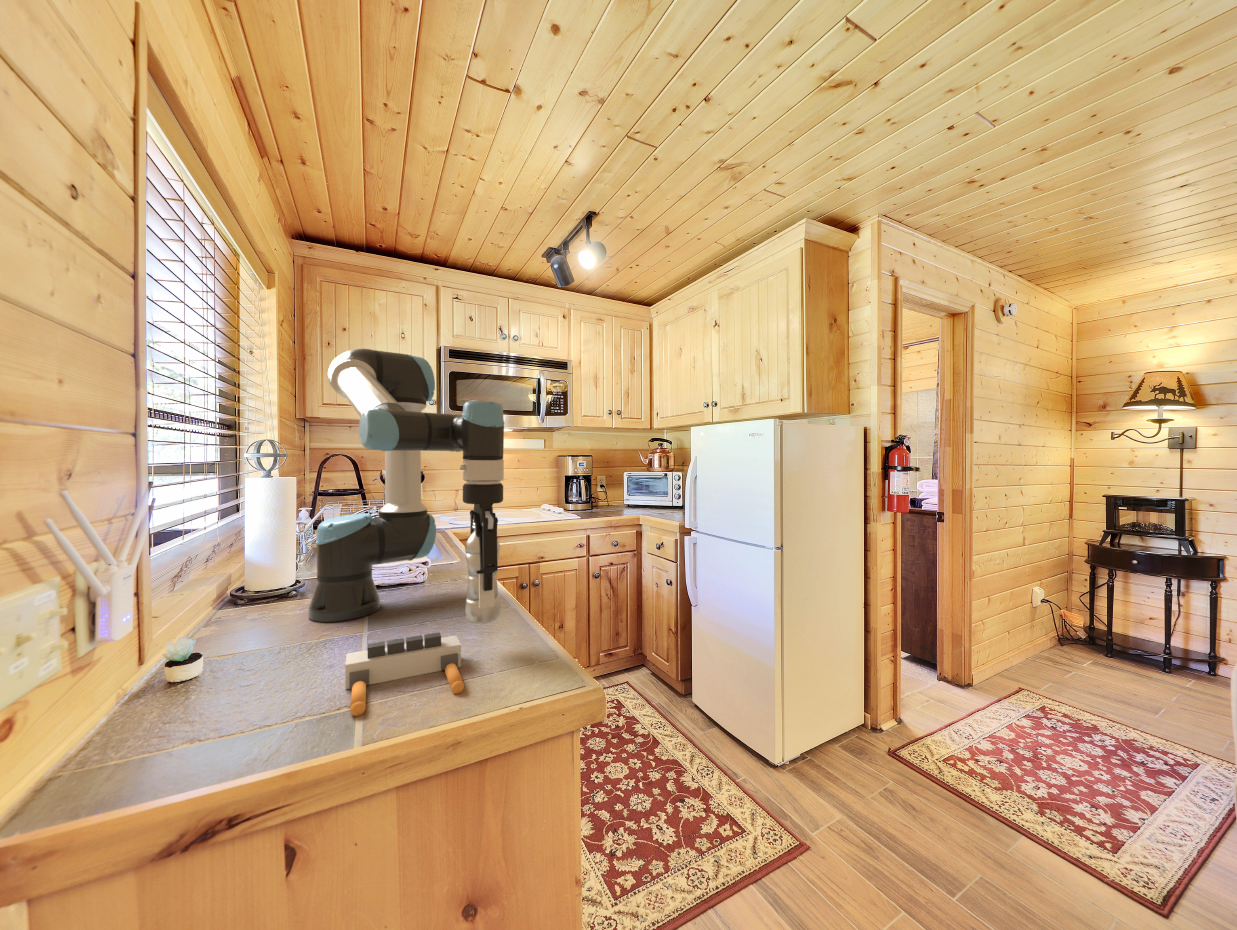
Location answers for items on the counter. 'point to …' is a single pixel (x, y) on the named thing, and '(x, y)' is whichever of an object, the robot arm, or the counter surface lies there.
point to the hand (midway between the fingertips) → (482, 601)
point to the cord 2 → (454, 678)
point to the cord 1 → (358, 698)
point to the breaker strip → (402, 659)
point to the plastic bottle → (472, 601)
